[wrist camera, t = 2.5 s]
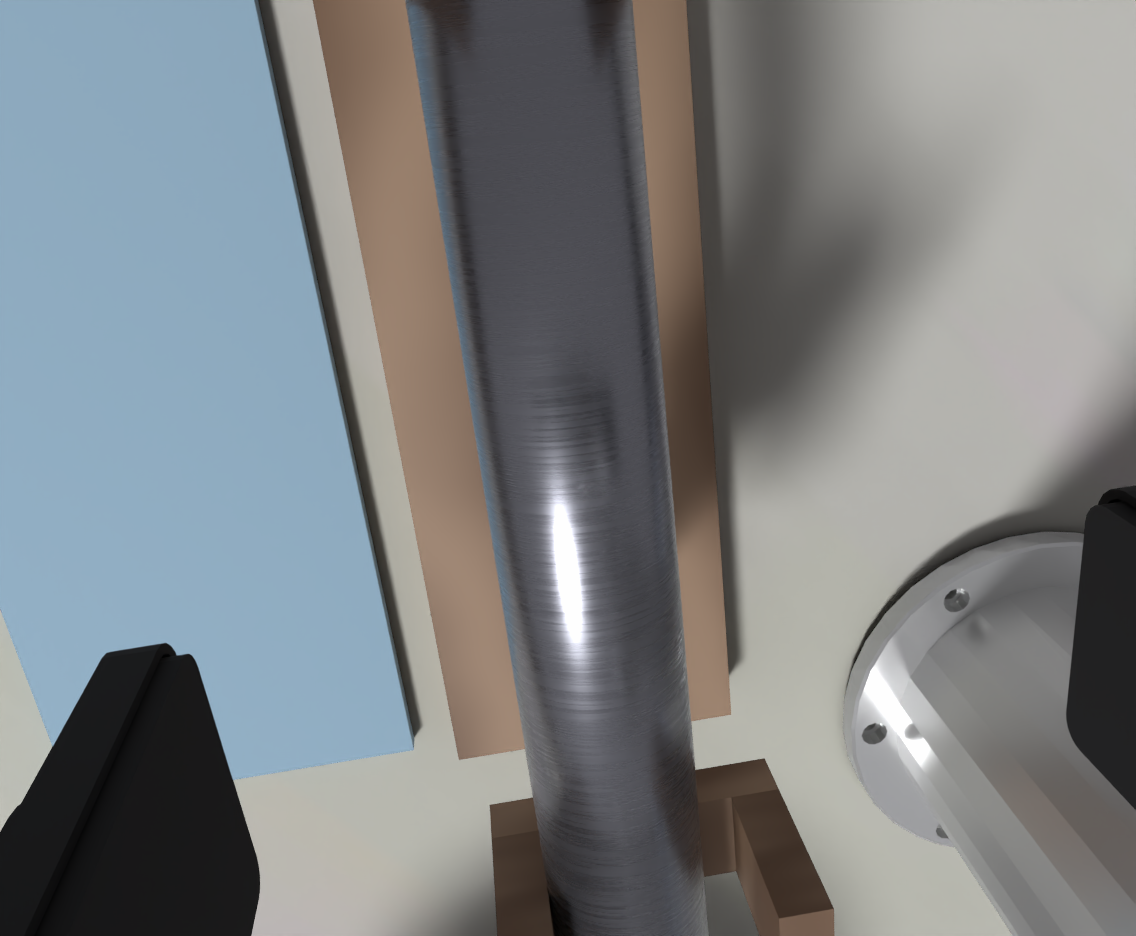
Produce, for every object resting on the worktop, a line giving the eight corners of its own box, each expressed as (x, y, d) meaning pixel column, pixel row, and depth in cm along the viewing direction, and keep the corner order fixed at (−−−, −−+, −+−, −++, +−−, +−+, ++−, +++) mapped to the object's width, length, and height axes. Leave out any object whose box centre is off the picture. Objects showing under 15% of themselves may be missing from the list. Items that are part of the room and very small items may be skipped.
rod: (364, -575, 12) (240, -742, 10) (597, -647, 12) (534, -846, 9) (595, 1015, 23) (567, 1145, 20) (726, 1031, 22) (714, 1168, 20)
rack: (652, -302, 24) (957, -857, 9) (719, 688, 34) (910, 1119, 20) (269, -263, 23) (-11, -789, 9) (458, 731, 34) (466, 1205, 20)
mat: (156, -478, 21) (149, -493, 21) (414, 738, 33) (413, 749, 33) (-379, -431, 21) (-402, -445, 20) (81, 793, 33) (75, 805, 32)
